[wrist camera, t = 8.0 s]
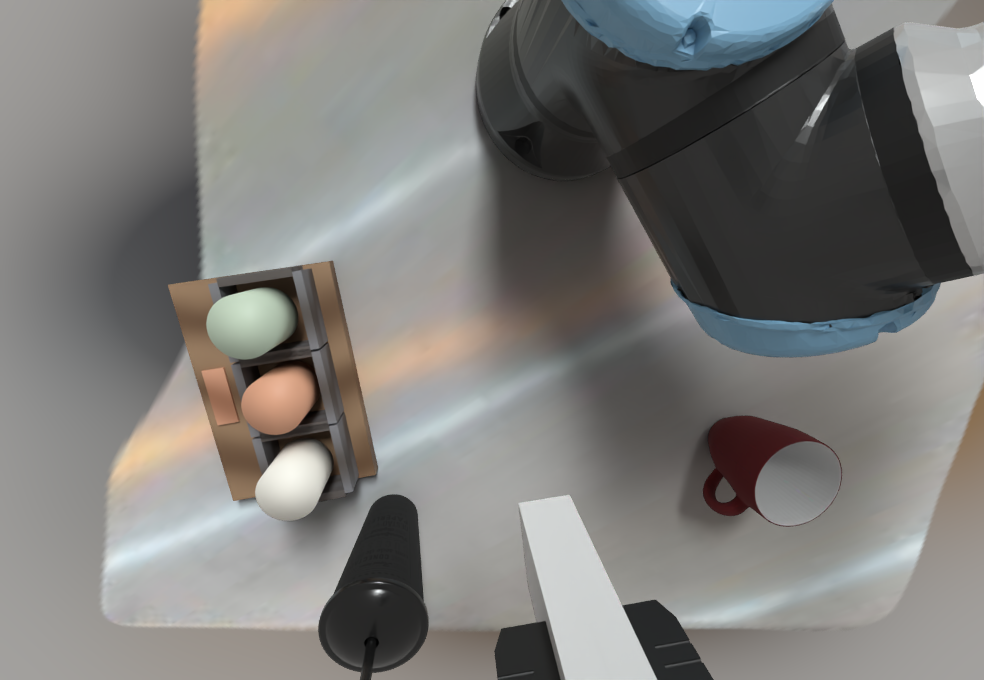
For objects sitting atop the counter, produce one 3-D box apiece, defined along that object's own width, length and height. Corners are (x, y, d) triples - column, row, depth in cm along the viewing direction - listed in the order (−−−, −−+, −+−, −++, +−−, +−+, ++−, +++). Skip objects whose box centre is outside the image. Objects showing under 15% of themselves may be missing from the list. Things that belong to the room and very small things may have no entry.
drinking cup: (388, 466, 44) (349, 642, 25) (447, 510, 46) (453, 707, 26) (337, 520, 45) (259, 734, 25) (397, 562, 46) (367, 792, 27)
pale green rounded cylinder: (231, 291, 36) (198, 299, 31) (290, 282, 36) (267, 289, 31) (246, 348, 37) (216, 364, 32) (304, 339, 37) (283, 353, 32)
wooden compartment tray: (178, 283, 38) (144, 288, 34) (332, 260, 39) (319, 263, 35) (240, 492, 43) (217, 520, 39) (377, 467, 44) (371, 492, 40)
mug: (717, 500, 49) (785, 564, 40) (660, 468, 48) (717, 526, 38) (775, 421, 48) (860, 466, 38) (719, 385, 46) (793, 423, 37)
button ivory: (272, 443, 38) (248, 472, 34) (327, 433, 39) (311, 460, 34) (285, 491, 39) (263, 526, 35) (338, 481, 40) (324, 514, 35)
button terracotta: (259, 365, 38) (234, 383, 34) (314, 356, 39) (297, 372, 34) (273, 415, 40) (250, 439, 35) (326, 406, 40) (311, 429, 35)
